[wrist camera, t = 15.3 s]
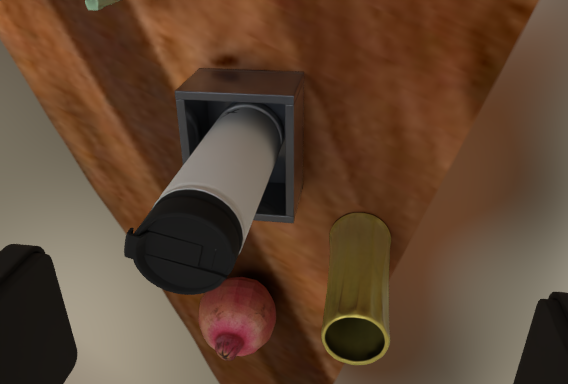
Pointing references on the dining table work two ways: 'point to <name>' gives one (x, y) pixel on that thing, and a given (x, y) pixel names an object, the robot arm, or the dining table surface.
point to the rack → (98, 4)
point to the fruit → (237, 317)
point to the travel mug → (209, 203)
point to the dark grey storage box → (256, 89)
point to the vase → (357, 290)
